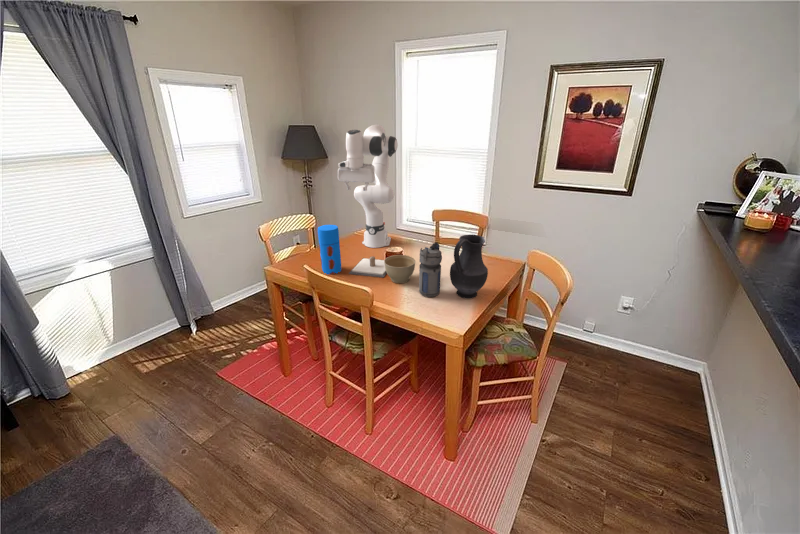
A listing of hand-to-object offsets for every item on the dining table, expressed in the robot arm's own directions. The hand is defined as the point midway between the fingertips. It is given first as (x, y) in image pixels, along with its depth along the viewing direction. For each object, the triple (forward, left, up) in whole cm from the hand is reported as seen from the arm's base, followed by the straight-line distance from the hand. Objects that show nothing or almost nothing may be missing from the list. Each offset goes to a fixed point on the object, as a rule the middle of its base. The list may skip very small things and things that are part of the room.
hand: (356, 190), depth 185 cm
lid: (+5, +9, -42) cm, 43 cm away
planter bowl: (+16, +28, -43) cm, 54 cm away
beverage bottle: (+26, +46, -43) cm, 68 cm away
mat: (+5, +9, -43) cm, 44 cm away
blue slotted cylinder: (+14, -12, -43) cm, 47 cm away
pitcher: (+25, +63, -43) cm, 80 cm away
